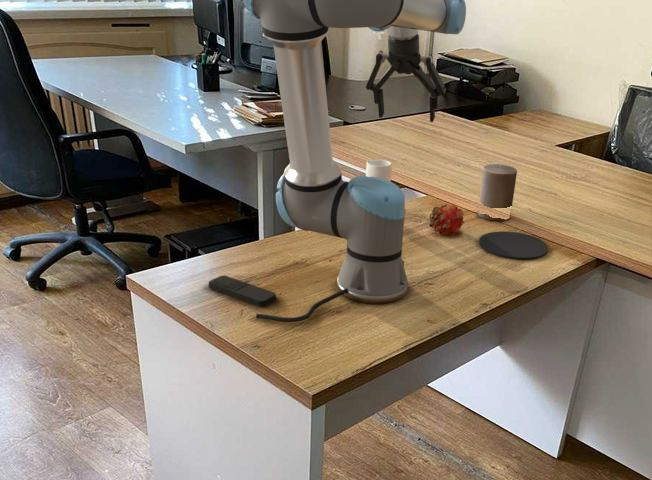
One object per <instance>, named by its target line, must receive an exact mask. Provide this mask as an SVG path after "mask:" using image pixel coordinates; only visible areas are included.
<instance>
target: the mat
mask: <svg viewBox="0 0 652 480" xmlns="http://www.w3.org/2000/svg"><path fill="white" fill-rule="evenodd" d="M478 245H479V246H480V248H481V249H482V250H484V251H485V252H487V253H488V254H491V255H493V256H496V257H500V258H503V259H509V260H518V261H530V260H536V259H540V258H543V257H545V256H546V255H547V254H548V252H549V247H548V245H547V244H546V242H544V241H543V240H542V239H539V238H537V237H536V236H533V235H529V234H526V233H521V232H516V231H515V232H514V231H491V232H488V233H484V234H483V235H481V236H480V237H479V239H478Z"/></svg>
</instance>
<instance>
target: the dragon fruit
mask: <svg viewBox="0 0 652 480" xmlns="http://www.w3.org/2000/svg"><path fill="white" fill-rule="evenodd" d="M429 223H430V224H428V225H429V227H430V228H431V229H433V231H434V232H435V233H438V235H440V236H443V235H444V234H447V235H449V236H454V235H455V233H456V234H457V233H458V231H459V230H460V229H461V228H462V227H463V225H464V223H465V220H464V212H463V209H462V208H458V206H457V205H456V204H451V205H449V204H442V205H441V206H440V205H437V206H434V207H433V209H432V211H431V213H430V214H429Z"/></svg>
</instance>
